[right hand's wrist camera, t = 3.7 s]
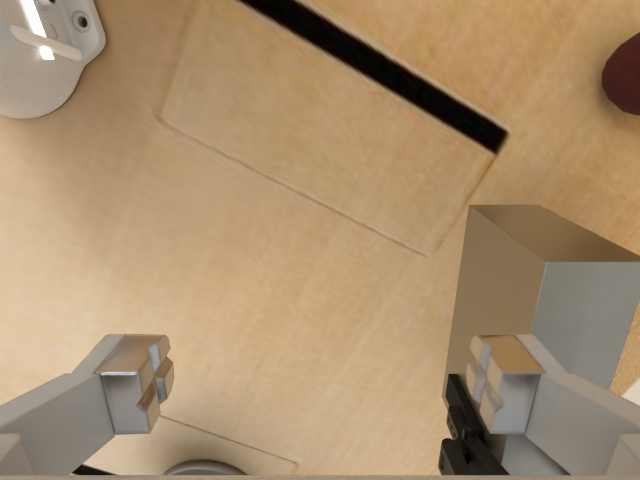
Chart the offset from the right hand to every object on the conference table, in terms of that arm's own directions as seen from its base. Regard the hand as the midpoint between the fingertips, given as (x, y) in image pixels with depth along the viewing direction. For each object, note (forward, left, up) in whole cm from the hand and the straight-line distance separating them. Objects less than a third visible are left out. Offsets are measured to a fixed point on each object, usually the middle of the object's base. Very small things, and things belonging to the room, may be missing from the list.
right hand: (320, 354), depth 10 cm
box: (+13, +16, -24) cm, 32 cm away
